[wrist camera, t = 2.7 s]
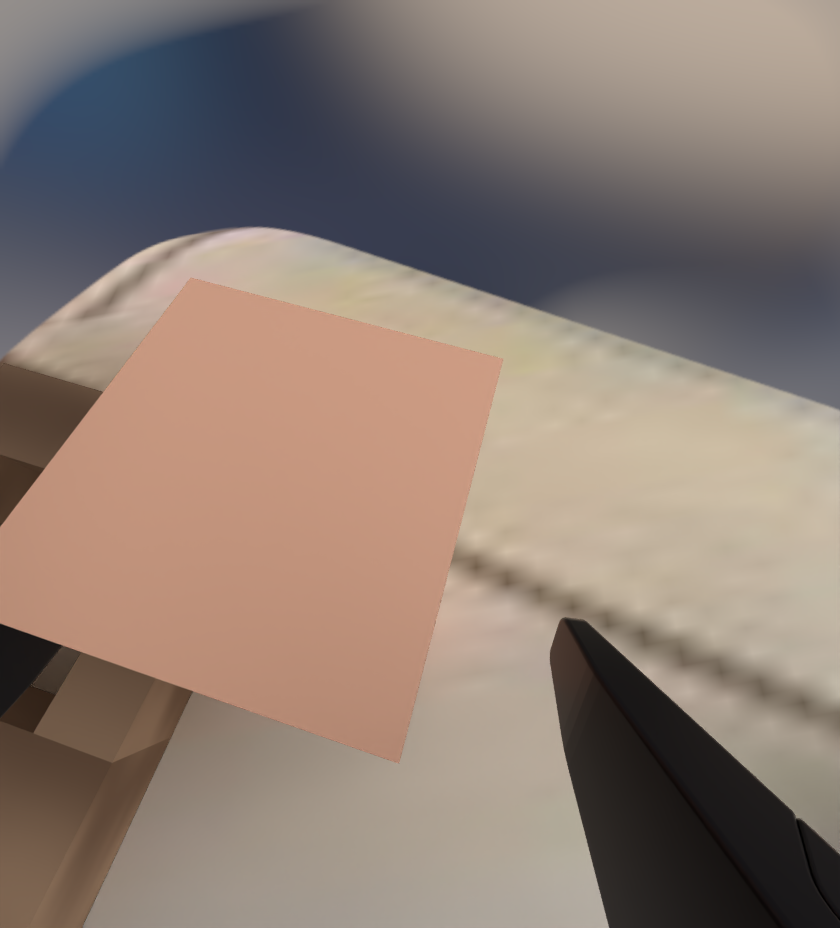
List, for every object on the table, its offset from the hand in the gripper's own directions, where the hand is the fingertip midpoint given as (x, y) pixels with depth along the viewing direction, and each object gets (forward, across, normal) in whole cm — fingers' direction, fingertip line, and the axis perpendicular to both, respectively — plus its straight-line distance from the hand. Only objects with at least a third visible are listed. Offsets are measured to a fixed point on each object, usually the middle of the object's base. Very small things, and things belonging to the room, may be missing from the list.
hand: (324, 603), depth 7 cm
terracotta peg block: (+7, 0, +6) cm, 9 cm away
